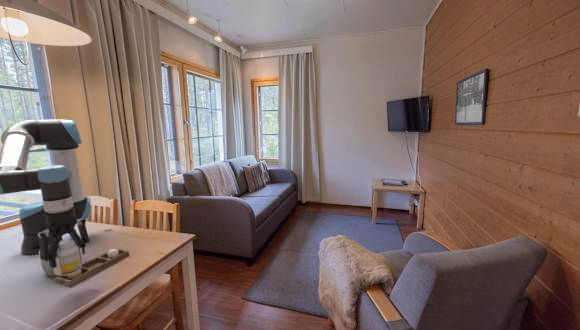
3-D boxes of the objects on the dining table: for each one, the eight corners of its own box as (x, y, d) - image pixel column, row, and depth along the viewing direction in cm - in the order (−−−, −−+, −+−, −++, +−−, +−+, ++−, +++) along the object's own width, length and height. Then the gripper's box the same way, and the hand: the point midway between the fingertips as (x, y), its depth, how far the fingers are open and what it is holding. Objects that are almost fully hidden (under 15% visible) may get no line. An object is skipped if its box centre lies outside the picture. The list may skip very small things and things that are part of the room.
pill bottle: (68, 266, 94) (63, 237, 91) (86, 265, 94) (81, 237, 92) (53, 276, 87) (47, 246, 85) (72, 276, 88) (67, 246, 86)
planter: (48, 283, 97) (43, 257, 95) (38, 273, 103) (34, 249, 101) (87, 267, 107) (83, 244, 105) (76, 259, 113) (72, 237, 112)
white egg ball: (105, 259, 112) (104, 250, 111) (115, 254, 116) (113, 246, 115) (112, 261, 111) (111, 252, 110) (121, 256, 115) (120, 247, 114)
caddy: (55, 283, 96) (54, 277, 96) (116, 252, 119) (115, 248, 118) (70, 288, 94) (69, 282, 93) (129, 255, 116) (128, 251, 116)
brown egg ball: (65, 280, 98) (63, 270, 97) (77, 273, 102) (76, 264, 101) (72, 282, 96) (70, 272, 95) (84, 275, 100) (83, 266, 100)
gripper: (29, 221, 76) (43, 287, 80) (96, 202, 94) (104, 256, 98) (15, 218, 78) (29, 282, 83) (83, 199, 96) (91, 253, 101)
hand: (69, 268), depth 90 cm, fingers closed on pill bottle, 6 cm apart
